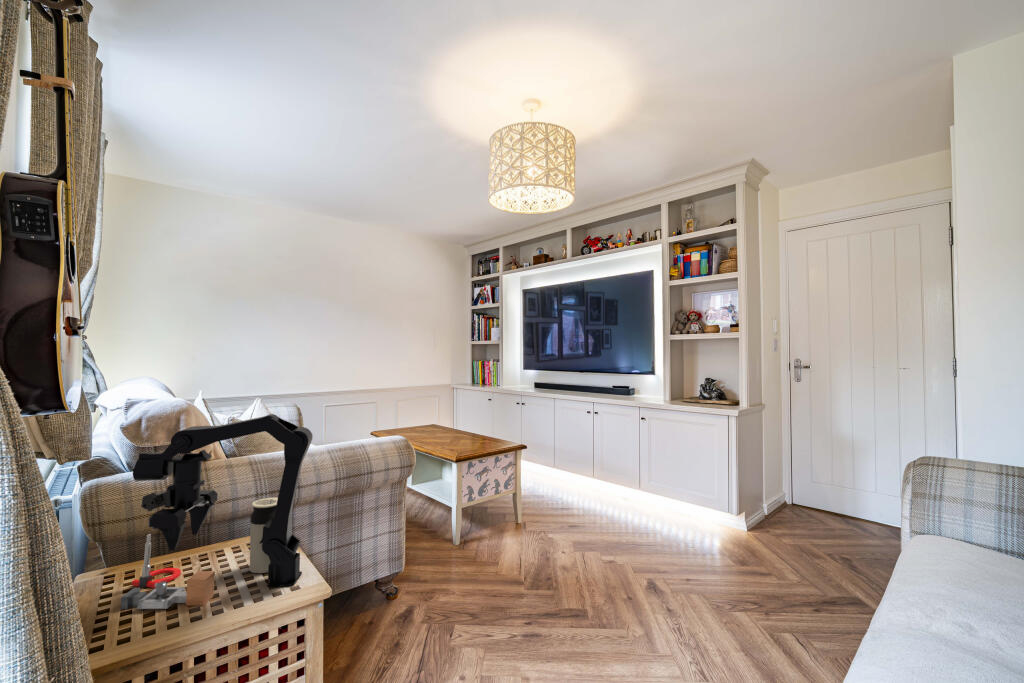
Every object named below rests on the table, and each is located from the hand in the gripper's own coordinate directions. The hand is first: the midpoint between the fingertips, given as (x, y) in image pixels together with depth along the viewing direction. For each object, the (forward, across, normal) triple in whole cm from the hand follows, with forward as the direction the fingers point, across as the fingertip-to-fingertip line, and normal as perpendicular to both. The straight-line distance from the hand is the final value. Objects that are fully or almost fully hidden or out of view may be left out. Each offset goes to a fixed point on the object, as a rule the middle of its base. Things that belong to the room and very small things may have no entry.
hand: (184, 542), depth 110 cm
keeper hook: (+12, +4, -5) cm, 14 cm away
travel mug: (+12, -11, +15) cm, 23 cm away
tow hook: (+13, -8, -10) cm, 18 cm away
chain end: (+12, +4, +2) cm, 13 cm away
